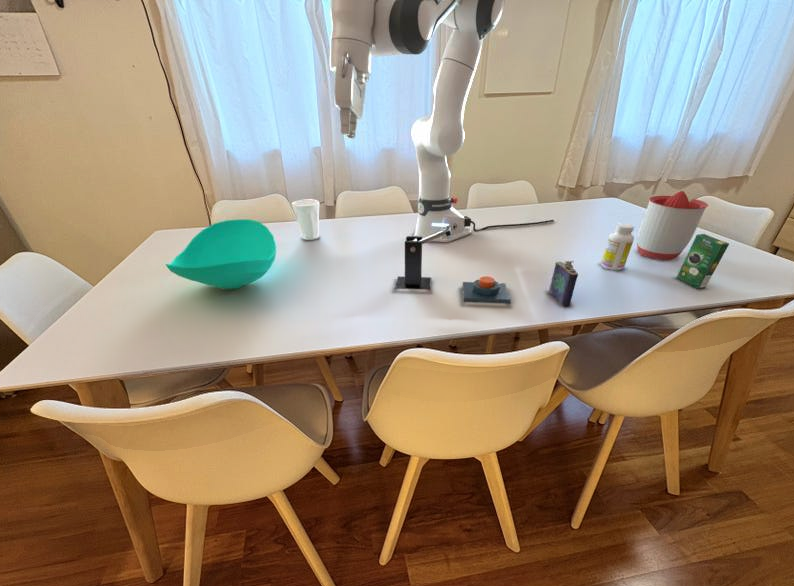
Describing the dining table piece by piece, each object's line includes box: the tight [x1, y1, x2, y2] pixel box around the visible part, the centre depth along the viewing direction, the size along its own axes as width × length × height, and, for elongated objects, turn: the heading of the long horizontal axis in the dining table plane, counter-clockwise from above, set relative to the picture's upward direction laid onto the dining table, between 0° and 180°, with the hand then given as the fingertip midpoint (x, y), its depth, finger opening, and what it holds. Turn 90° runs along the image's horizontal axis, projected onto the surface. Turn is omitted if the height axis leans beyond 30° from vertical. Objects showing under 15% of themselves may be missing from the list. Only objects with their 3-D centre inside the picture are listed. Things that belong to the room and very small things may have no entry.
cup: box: [291, 198, 320, 241], centre depth 140 cm, size 10×10×13 cm
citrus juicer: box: [636, 190, 709, 261], centre depth 121 cm, size 16×17×20 cm
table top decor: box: [165, 218, 277, 290], centre depth 108 cm, size 40×28×13 cm
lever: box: [412, 225, 451, 246], centre depth 100 cm, size 12×5×2 cm, turn 83°
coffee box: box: [676, 233, 730, 290], centre depth 104 cm, size 8×3×13 cm, turn 13°
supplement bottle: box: [600, 222, 635, 271], centre depth 114 cm, size 7×7×13 cm
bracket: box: [394, 235, 432, 291], centre depth 104 cm, size 10×8×14 cm
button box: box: [461, 279, 512, 304], centre depth 101 cm, size 12×10×4 cm
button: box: [478, 276, 496, 288], centre depth 99 cm, size 4×4×2 cm
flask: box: [548, 260, 579, 308], centre depth 98 cm, size 9×3×11 cm, turn 8°
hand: (348, 136), depth 87 cm, fingers open, 8 cm apart
